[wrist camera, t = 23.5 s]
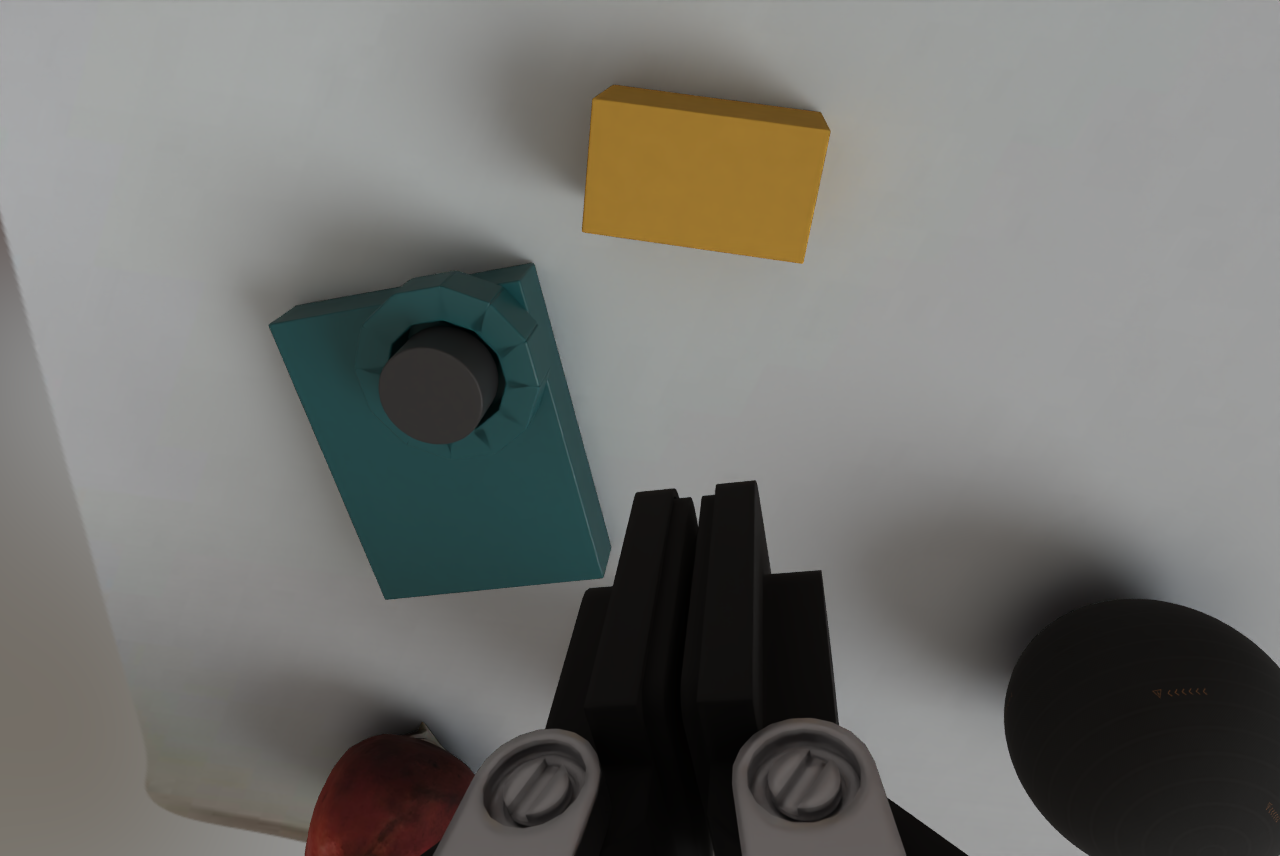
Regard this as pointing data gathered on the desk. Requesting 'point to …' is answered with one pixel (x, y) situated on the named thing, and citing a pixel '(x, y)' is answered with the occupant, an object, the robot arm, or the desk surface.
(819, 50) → the desk surface
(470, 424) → the dark gray cylinder
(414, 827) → the fruit
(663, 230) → the sponge
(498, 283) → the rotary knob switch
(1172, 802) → the speaker
